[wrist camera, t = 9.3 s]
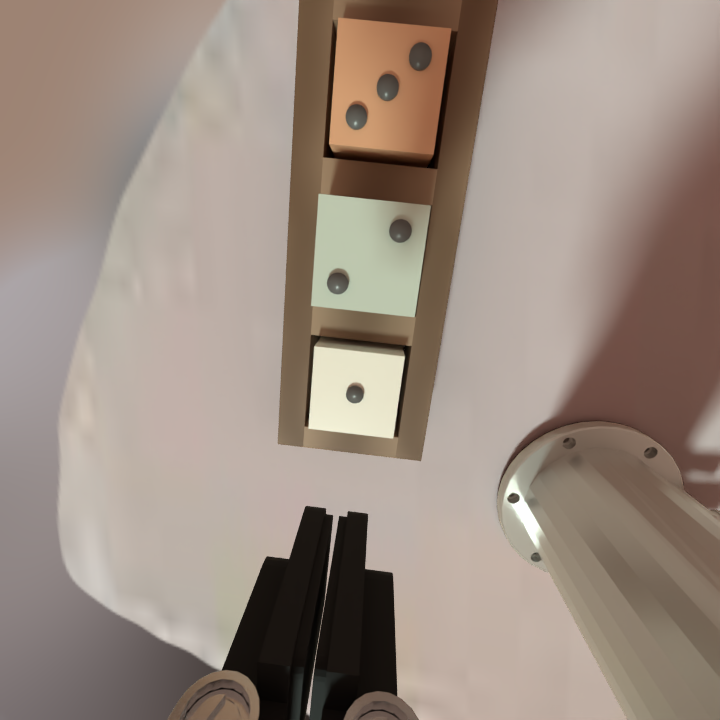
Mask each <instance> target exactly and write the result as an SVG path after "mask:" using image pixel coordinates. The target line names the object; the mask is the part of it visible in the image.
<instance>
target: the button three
mask: <svg viewBox="0 0 720 720" xmlns="http://www.w3.org/2000/svg"><path fill="white" fill-rule="evenodd" d="M450 35H451V28H442V27H431V26H421V25H411V24H400V23H390V22H379V21H369V20H358V19H348V18H338V28H337V41H336V55H335V69H334V83H333V97H332V110H331V124H330V138H329V145H330V147H331V149H332V151H333V154H334V156H335V158H336V159H343V160H353V161H362V162H372V163H382V164H391V165H401V166H411V167H421V168H427V166H428V164H429V162H430V160H431V158H432V157H433V155H434V148H435V141H436V134H437V127H438V120H439V113H440V106H441V98H442V91H443V84H444V77H445V70H446V63H447V56H448V49H449V42H450Z"/></svg>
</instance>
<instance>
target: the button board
mask: <svg viewBox="0 0 720 720" xmlns="http://www.w3.org/2000/svg"><path fill="white" fill-rule="evenodd" d="M497 4H498V0H299V16H298V37H297V57H296V78H295V99H294V119H293V140H292V160H291V181H290V202H289V222H288V243H287V264H286V284H285V305H284V325H283V346H282V367H281V387H280V408H279V428H278V444H282V445H291V446H299V447H308V448H316V449H324V450H333V451H341V452H350V453H358V454H366V455H375V456H383V457H392V458H400V459H409V460H417V461H421V458H422V452H423V446H424V440H425V434H426V428H427V422H428V416H429V410H430V404H431V398H432V392H433V386H434V380H435V374H436V368H437V362H438V356H439V350H440V345H441V339H442V333H443V327H444V321H445V315H446V309H447V303H448V297H449V291H450V285H451V279H452V273H453V267H454V261H455V255H456V249H457V243H458V237H459V231H460V225H461V219H462V213H463V207H464V201H465V195H466V189H467V183H468V177H469V171H470V165H471V159H472V153H473V147H474V142H475V136H476V130H477V124H478V118H479V112H480V106H481V100H482V94H483V88H484V82H485V76H486V70H487V64H488V58H489V52H490V46H491V40H492V34H493V28H494V22H495V16H496V10H497ZM338 18H348V19H358V20H369V21H379V22H390V23H400V24H411V25H421V26H431V27H442V28H451V35H450V42H449V49H448V56H447V63H446V70H445V77H444V84H443V91H442V98H441V106H440V113H439V120H438V127H437V134H436V141H435V148H434V155H433V157H432V158H431V164H430V168H421V167H411V166H401V165H391V164H382V163H372V162H362V161H353V160H343V159H334V154H333V151H332V149H331V147H330V145H329V138H330V124H331V110H332V97H333V83H334V69H335V55H336V41H337V28H338ZM319 194H326V195H335V196H345V197H354V198H364V199H373V200H383V201H392V202H402V203H411V204H421V205H430V206H431V209H430V215H429V222H428V229H427V236H426V243H425V250H424V257H423V264H422V271H421V278H420V284H419V291H418V298H417V305H416V312H415V317H407V316H398V315H389V314H380V313H371V312H362V311H353V310H344V309H335V308H326V307H317V306H311V299H312V284H313V270H314V255H315V240H316V226H317V211H318V196H319ZM320 336H327V337H335V338H344V339H353V340H362V341H371V342H380V343H389V344H397V345H405V348H404V355H405V359H404V366H403V373H402V380H401V387H400V394H399V401H398V408H397V416H396V423H395V430H394V437H393V439H392V438H383V437H375V436H366V435H358V434H349V433H341V432H332V431H324V430H316V429H308V427H309V414H310V400H311V386H312V372H313V358H314V346H315V345H316V343H317V342H318V341H319V339H320Z"/></svg>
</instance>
